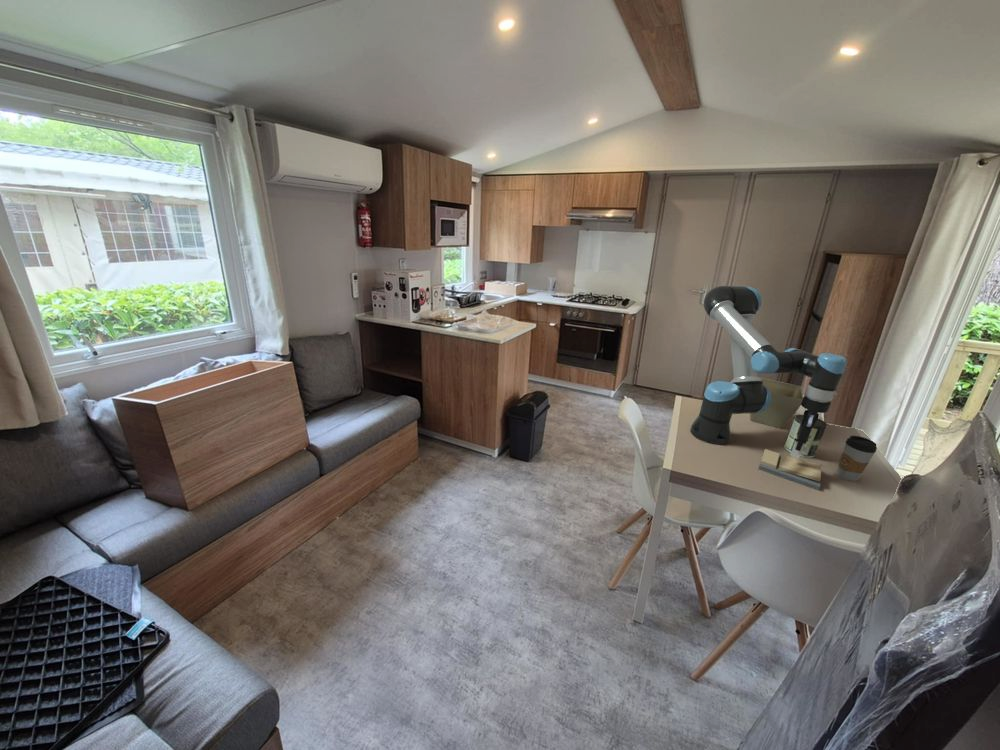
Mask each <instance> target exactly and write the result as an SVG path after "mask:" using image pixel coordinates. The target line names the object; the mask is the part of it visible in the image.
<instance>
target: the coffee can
mask: <svg viewBox="0 0 1000 750" xmlns="http://www.w3.org/2000/svg"><path fill="white" fill-rule="evenodd" d="M803 416H804V414H796V415H794V419H793V422H792V425H791V428H790V430H789V433H788V436H787V439H786V442H785V443H784V449H785V450H786V451H788V452H789V453H791V451H792V449H793V446H794V444H795V441H794V439H795V438H796V439H797V436H798V433H799V430H800V428H801V425H802V419H803ZM827 427H828V423H827V422H826V421H824V420H823V419H821V418H818V420H817V421H816V422H815V425H814V427H813V428H812V430H811V432H810V435H809V437H808V442H807V441H806V444H805V445H804V448H803V450H802V453H801V455H800V457H801V458H809V459H810V458H811V459H812V458H814V457H815V455H816V453H817V450H818V448H819V445H820V443H821V440H822V437H823V436H824V433H825V430H826V428H827Z"/></svg>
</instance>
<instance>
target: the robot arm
mask: <svg viewBox="0 0 1000 750" xmlns="http://www.w3.org/2000/svg"><path fill="white" fill-rule="evenodd" d="M761 306H762V296H761V294H760V292H759V291H758V290H757V289H756V288H754V287H753V286H752V287H751V286H743V285H741V286H735V285H733V286H731V285H729V286H728V285H720V286H716V287H713V288H711V289H710V290H709V291H708V292H707V293H706V295H705V297H704V298H703V308H704V311H705V312H706V314H707V315H708V317H710V319H711V320H713V321H717V322H718V324H719V325H720V326H722V328H723V329H724V330H725V331H726V332H727V334H728V335H729V341H730V349H731V350H730V351H731V362H732V363H731V364H732V371H733V379H732V380H731V381H723V380H722V381H721V380H720V381H719V380H717V381H712V382H710V383H708V384H707V387H706V389H705V391H704V395H703V398H702V401H701V406H700V408H699V409H700V410H699V414H698V416H697V417H696V419H694V421H693V422H692V424H691V425H690V429H689V431H690V434H691V435H692V436H693V437H695V438H696V439H698V440H700V441H702V442H705V443H708V444H713V445H725V444H728V443H729V442H730V439H731V428H730V425H731V424H730V423H731V419H732V417H733V415H742V414H743V415H744V414H745V415H746V414H749V415H750V414H754V413H759V412H762V411H764V410H766V408H767V407H768V406H769V405H770V402H771V393H770V391H769V390H768V388H767V387H765V386H763V381H762V380H761V379H760V378H761V377H760V376H758V374H765V375H766V374H783V373H784V374H786V373H787V374H788V373H790V374H791V373H798V374H800V375H803V376H806V377H808V378H810V379H809V382H808V384H807V387H806V389H805V392H804V395H803V400H802V403H801V406H802V408H804V409H806V410H804V412H803V415H804V416H803V419H802V425H801V428H800V430H799V433H798V436H797V439H796V438H795V439H794V441H795V444H794V446H793V449H792V451H791V452H790V454H789V456H790V457H794V458H797V459H800V457H801V456H800V455H801V453H802V450H803V448H804V445H805V444H806V441H807V442H808V437H809V435H810V432H811V430H812V428H813V427H814V425H815V422H816V421H817V420H818V419H819V413H820V414H821V413H822V414H823V413H824V414H825V413H827V412H828V411H829V409H830V406H831V402H832V401H833V399H834V396H838V393H837V391H836V390H837V389H838V386H839V384H840V382H841V379H842V377H843V375H844V373H845V371H846V366H847V364H848V360H847V358H846V357H845V356H842V355H839V354H834V353H830V352H828V353H827V352H822V353H820V354H819V356H818V355H816V354H813V353H810V352H809V351H805V350H803V349H798V348H795V347H791V348H788V349H786V350H783V351H778V350H777V349H776V348H775V347H774V346H773V345H772V344H771V343H770V342H769V341H768V340H767V339H766V338H764V336H763V335H762V334H761V333H760V332H759V331H757V329H756V328H755V327H754V326H753V320H754V319H755V317H757V312H758V311H760V307H761ZM759 377H760V378H759Z"/></svg>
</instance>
